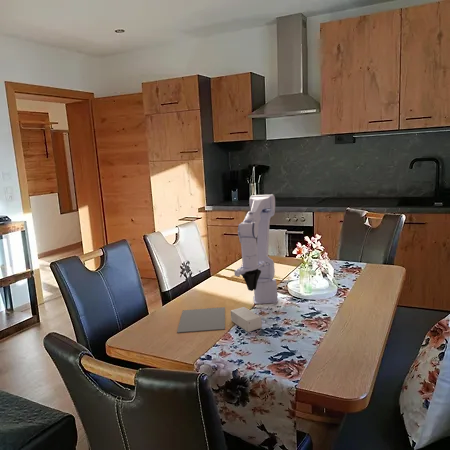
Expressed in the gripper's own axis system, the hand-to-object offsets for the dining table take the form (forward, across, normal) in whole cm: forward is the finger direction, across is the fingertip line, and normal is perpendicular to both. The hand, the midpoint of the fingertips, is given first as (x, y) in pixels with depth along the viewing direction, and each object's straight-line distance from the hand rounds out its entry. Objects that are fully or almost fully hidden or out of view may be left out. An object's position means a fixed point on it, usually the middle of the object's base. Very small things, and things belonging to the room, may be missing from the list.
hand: (252, 289), depth 156 cm
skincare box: (+8, +6, -3) cm, 10 cm away
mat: (+10, +15, -13) cm, 22 cm away
